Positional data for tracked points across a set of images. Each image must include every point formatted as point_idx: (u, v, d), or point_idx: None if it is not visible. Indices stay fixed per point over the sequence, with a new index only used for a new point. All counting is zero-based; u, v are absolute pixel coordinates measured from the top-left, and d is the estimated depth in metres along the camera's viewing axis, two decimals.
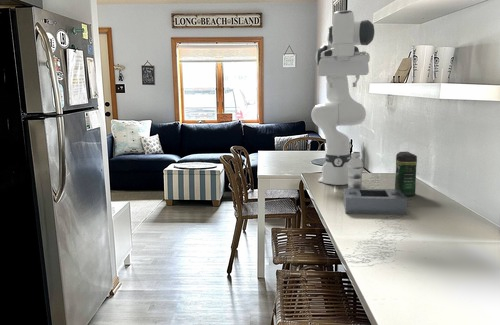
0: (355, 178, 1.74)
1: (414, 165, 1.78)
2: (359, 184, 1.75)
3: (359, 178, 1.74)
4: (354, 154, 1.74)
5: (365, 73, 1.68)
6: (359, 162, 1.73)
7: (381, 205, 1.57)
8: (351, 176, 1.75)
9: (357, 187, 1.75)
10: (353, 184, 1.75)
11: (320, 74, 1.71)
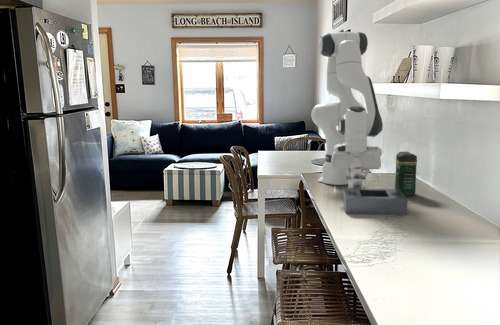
0: (355, 178, 1.74)
1: (414, 165, 1.78)
2: (359, 184, 1.75)
3: (359, 178, 1.74)
4: None
5: (377, 168, 1.73)
6: (360, 162, 1.73)
7: (381, 205, 1.57)
8: (352, 176, 1.75)
9: (357, 187, 1.75)
10: (353, 184, 1.75)
11: (333, 167, 1.76)
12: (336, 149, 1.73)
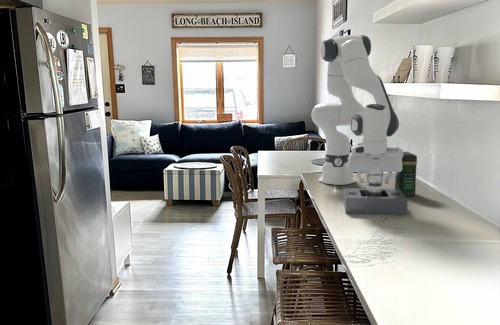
0: (374, 185, 1.61)
1: (414, 165, 1.78)
2: (379, 192, 1.61)
3: (379, 186, 1.61)
4: (374, 160, 1.60)
5: (398, 170, 1.59)
6: (380, 168, 1.60)
7: (381, 205, 1.57)
8: (371, 183, 1.61)
9: (377, 195, 1.61)
10: (372, 192, 1.61)
11: (350, 170, 1.62)
12: (354, 150, 1.59)
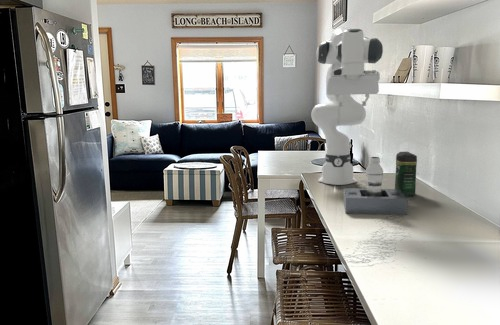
0: (374, 185, 1.61)
1: (414, 165, 1.78)
2: (379, 192, 1.61)
3: (379, 185, 1.61)
4: (373, 159, 1.60)
5: (375, 92, 1.66)
6: (379, 168, 1.60)
7: (381, 205, 1.57)
8: (370, 183, 1.61)
9: (377, 195, 1.61)
10: (372, 192, 1.62)
11: (329, 93, 1.69)
12: (332, 73, 1.66)
